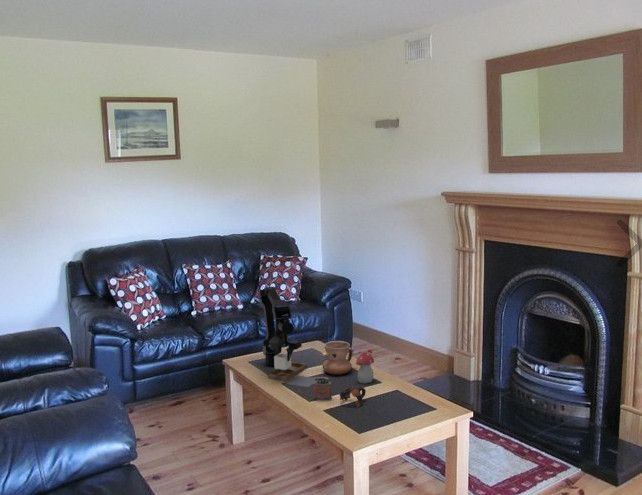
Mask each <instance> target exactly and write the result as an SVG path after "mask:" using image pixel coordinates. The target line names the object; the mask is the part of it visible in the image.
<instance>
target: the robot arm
mask: <svg viewBox="0 0 642 495" xmlns="http://www.w3.org/2000/svg"><path fill="white" fill-rule="evenodd" d="M257 299H258V300H259V303H260V305H261V306H262V307H263V313H264V314H263V315H264V320H265V321H264V322H265V323H264V324H265V330H266V337H265V339H263V341H262V354H263V356H264V358H265V364H263V366H264V367H270V368H275V367H274V356H276V355H278V354H279V353H282V347H283V346H285V347H287V348H286V349H285V351H286V354H287V360H288V361H289V360H290V358H291V359H292V356H293V353H294V350H295V351H296V350H299V349H300V348H302V345H303V344H302V343H303V342H301V340H295V339H294V340H292V341H290V338H289V335H290V334H292V332H294V325H293V324H292V323H291V322H290V320H291V319H292V316H293V314H292V312H291V308H290V305H288V303H287V302H286V301H285V300H282V299H281V297H280V296H279V294H278V292H277V289H276V287H275V286H266V287H264V289H260V290H259V291H258V293H257Z"/></svg>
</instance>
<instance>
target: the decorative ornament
mask: <svg viewBox="0 0 642 495" xmlns="http://www.w3.org/2000/svg"><path fill="white" fill-rule="evenodd" d="M372 353H373V350H372V349H367V352H363V353H361V354H360V355H358V357H357V358H356V361H355V364H356V365H357V366H360V367H359V369H358V370H357V376H356V380H357V383H358V384H365V385H366V384H369V383H372V382H373V380H374V379H373V378H374V370H373V368H372V366H371V365H372V364H373V363H375V360H374V357H373V355H372Z"/></svg>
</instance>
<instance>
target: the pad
mask: <svg viewBox="0 0 642 495" xmlns="http://www.w3.org/2000/svg"><path fill="white" fill-rule="evenodd" d="M313 382H317V381H315V377H311V376H305V375H299V374H298V375H296V376H295V377H293V378H292V379H290V380H289V381H286V382H285V384H286V385H292V386H298V387H304V388H310V387H311V386H312V385H313Z"/></svg>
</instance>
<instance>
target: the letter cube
mask: <svg viewBox="0 0 642 495" xmlns="http://www.w3.org/2000/svg"><path fill="white" fill-rule="evenodd" d="M291 362H292V357H291V358H290V360H289V361H288V360H287V353H284V352H281V353H279V354H278V355H276V356H274V367H273V368H274V370H276V369H281V370H286V369H288V368H289V367H291Z"/></svg>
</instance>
